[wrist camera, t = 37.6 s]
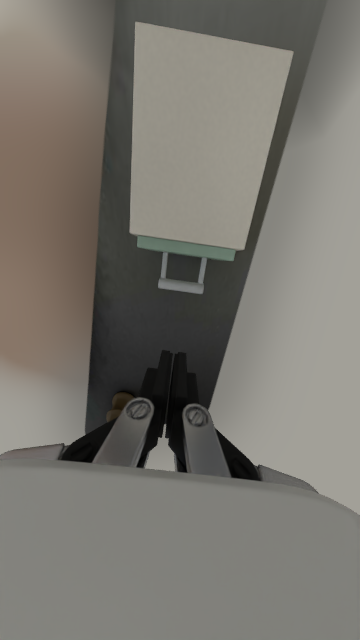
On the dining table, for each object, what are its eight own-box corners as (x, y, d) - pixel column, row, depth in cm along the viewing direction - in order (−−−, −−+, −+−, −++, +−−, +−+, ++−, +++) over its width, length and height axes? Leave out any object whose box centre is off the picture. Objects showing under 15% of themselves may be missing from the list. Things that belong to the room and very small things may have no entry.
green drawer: (213, 289, 28) (223, 301, 20) (148, 280, 27) (135, 289, 20) (241, 154, 22) (270, 101, 14) (157, 140, 21) (144, 79, 14)
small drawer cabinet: (223, 252, 26) (244, 250, 18) (147, 241, 26) (129, 233, 17) (247, 137, 22) (294, 50, 13) (155, 121, 21) (135, 20, 12)
